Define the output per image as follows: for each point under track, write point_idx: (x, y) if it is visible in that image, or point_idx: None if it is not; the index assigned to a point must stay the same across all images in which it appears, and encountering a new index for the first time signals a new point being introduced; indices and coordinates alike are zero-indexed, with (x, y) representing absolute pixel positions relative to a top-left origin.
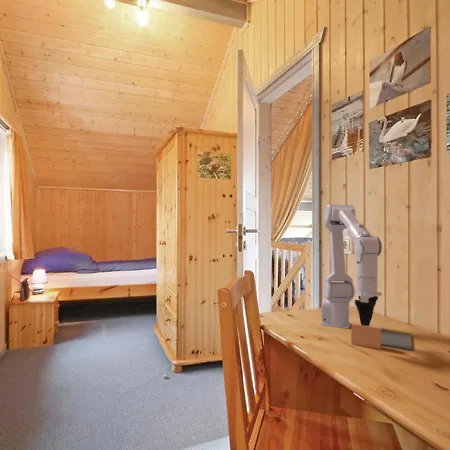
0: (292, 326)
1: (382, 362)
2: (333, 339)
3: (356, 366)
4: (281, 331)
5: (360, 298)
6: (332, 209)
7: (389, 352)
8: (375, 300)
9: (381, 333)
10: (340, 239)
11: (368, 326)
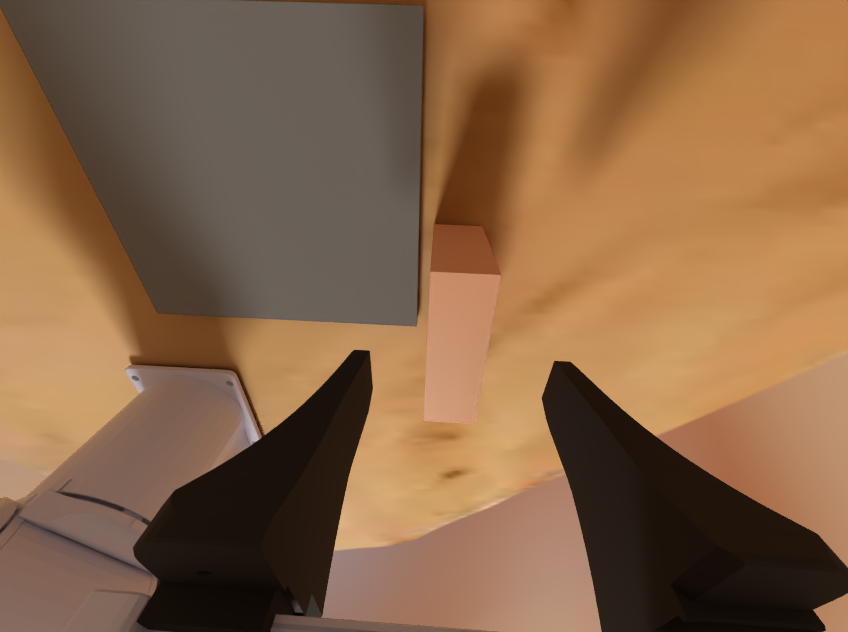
0: (356, 501)
1: (686, 214)
2: None
3: (749, 316)
4: (430, 513)
5: (323, 591)
6: None
7: (508, 177)
8: (291, 503)
9: (205, 227)
10: None
11: (479, 349)
